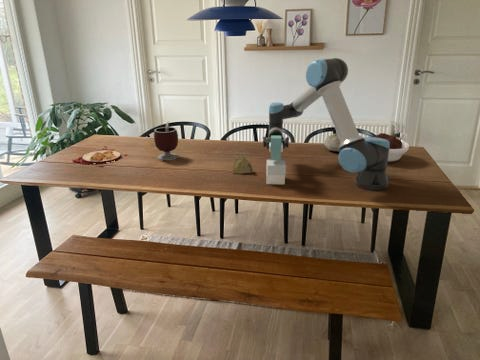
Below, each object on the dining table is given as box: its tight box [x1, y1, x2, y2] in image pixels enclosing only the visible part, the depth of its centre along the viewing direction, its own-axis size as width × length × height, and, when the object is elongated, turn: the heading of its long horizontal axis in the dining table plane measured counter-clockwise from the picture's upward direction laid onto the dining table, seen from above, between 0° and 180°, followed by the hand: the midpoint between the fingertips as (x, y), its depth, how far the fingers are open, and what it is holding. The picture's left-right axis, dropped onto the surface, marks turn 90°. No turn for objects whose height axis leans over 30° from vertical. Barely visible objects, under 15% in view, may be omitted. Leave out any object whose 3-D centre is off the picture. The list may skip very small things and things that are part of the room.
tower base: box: [265, 173, 286, 185], centre depth 191 cm, size 9×9×5 cm
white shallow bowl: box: [371, 132, 410, 162], centre depth 218 cm, size 25×25×15 cm
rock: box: [231, 153, 254, 175], centre depth 202 cm, size 11×9×10 cm
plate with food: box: [71, 145, 127, 168], centre depth 229 cm, size 24×26×4 cm
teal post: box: [270, 136, 282, 160], centre depth 185 cm, size 5×5×11 cm
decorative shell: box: [323, 132, 341, 153], centre depth 236 cm, size 18×18×10 cm
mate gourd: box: [153, 121, 179, 161], centre depth 226 cm, size 16×14×20 cm
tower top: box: [266, 159, 287, 176], centre depth 189 cm, size 9×9×5 cm
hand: (276, 149), depth 180 cm, fingers closed on teal post, 5 cm apart
